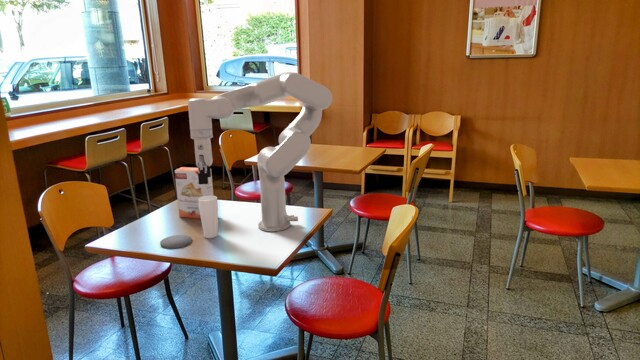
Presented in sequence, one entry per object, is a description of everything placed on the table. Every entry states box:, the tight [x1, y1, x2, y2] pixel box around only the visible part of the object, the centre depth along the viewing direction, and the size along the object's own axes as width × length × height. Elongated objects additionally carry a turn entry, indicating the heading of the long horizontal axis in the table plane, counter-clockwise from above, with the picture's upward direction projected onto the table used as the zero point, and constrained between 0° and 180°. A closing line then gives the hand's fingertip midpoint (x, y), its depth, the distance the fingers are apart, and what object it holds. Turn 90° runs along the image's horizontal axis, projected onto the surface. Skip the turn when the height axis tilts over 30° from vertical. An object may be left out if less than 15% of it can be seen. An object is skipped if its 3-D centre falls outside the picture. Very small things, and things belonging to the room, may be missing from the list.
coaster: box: [159, 234, 193, 250], centre depth 161 cm, size 11×11×1 cm
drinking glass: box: [198, 195, 219, 239], centre depth 164 cm, size 7×7×15 cm
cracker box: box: [174, 166, 215, 220], centre depth 186 cm, size 14×6×21 cm, turn 77°
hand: (205, 180), depth 161 cm, fingers open, 9 cm apart
